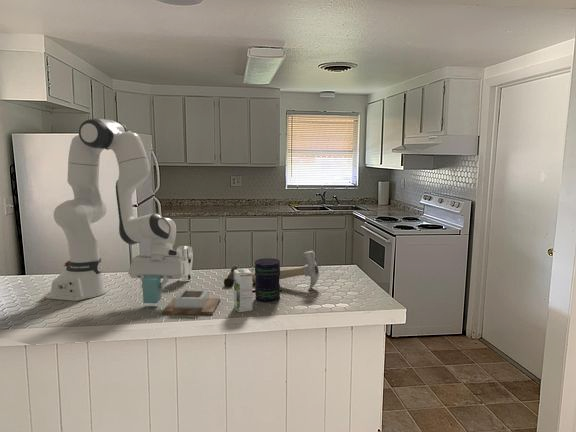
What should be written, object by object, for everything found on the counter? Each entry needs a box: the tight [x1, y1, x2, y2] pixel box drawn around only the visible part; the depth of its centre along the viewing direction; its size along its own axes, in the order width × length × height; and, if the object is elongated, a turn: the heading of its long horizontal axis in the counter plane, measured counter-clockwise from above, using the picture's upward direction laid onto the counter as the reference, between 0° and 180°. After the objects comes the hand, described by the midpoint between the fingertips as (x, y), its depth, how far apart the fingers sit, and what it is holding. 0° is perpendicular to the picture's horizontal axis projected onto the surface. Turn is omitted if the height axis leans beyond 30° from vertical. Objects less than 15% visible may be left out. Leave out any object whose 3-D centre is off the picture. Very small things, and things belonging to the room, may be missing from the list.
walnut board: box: [161, 297, 221, 315], centre depth 163 cm, size 18×14×1 cm
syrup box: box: [233, 268, 253, 313], centre depth 160 cm, size 6×6×14 cm
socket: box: [174, 289, 210, 310], centre depth 162 cm, size 10×10×4 cm
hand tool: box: [223, 266, 238, 288], centre depth 197 cm, size 19×4×5 cm, turn 175°
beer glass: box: [176, 245, 194, 283], centre depth 197 cm, size 7×7×15 cm
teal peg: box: [141, 276, 162, 304], centre depth 163 cm, size 5×5×9 cm
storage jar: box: [254, 258, 281, 304], centre depth 171 cm, size 10×10×15 cm
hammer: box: [252, 250, 320, 291], centre depth 187 cm, size 16×5×30 cm
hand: (152, 287), depth 164 cm, fingers closed on teal peg, 5 cm apart
